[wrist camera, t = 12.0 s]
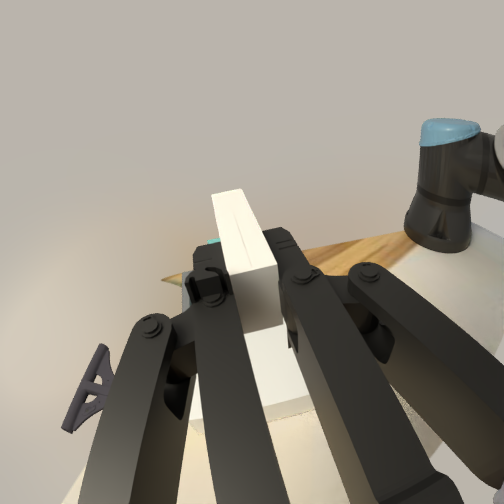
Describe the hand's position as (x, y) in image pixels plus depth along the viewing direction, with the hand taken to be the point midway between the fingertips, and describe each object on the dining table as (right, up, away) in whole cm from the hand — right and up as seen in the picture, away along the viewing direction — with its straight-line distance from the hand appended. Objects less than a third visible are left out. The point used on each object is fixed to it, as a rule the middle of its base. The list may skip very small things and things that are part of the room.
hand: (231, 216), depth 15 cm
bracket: (-14, -20, +15) cm, 29 cm away
